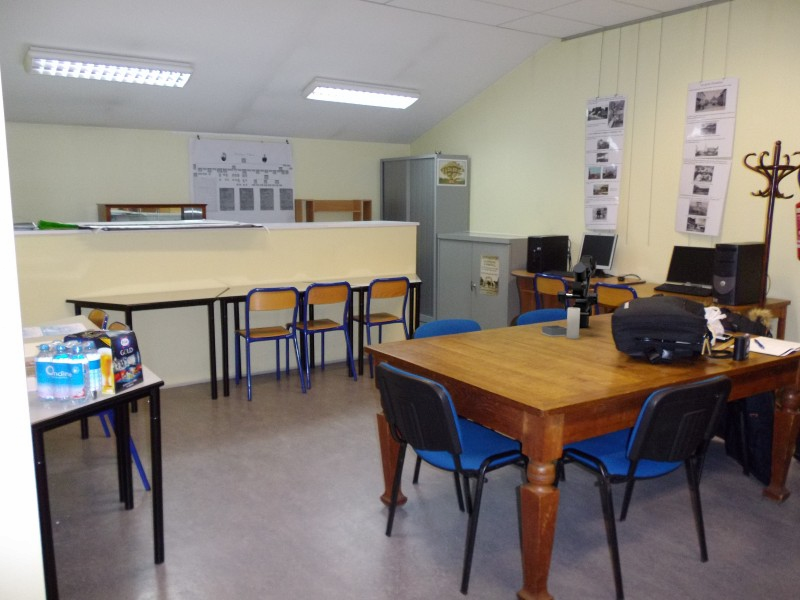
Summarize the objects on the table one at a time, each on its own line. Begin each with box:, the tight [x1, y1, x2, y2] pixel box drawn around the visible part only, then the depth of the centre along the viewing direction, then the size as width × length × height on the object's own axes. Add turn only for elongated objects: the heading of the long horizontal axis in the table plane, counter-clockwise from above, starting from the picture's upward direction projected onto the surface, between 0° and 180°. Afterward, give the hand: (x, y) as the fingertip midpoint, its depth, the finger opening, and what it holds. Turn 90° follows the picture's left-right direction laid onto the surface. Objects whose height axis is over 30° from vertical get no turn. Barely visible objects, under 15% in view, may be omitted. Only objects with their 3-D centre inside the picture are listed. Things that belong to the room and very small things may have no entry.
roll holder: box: [540, 324, 567, 338], centre depth 317 cm, size 9×9×4 cm
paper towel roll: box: [565, 306, 580, 340], centre depth 309 cm, size 6×6×14 cm
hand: (575, 311), depth 313 cm, fingers open, 9 cm apart
